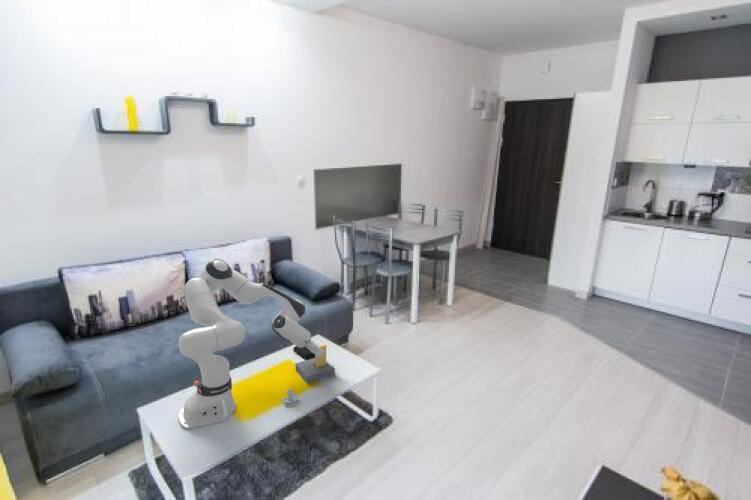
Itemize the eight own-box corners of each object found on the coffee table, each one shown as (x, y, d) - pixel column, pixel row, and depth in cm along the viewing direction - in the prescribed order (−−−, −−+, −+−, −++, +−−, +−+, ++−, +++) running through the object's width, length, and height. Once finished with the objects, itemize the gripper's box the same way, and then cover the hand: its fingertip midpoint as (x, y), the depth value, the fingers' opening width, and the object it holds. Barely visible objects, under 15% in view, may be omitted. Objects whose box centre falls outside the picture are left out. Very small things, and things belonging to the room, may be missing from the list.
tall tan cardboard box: (317, 369, 201) (317, 347, 198) (315, 367, 203) (315, 345, 200) (326, 366, 204) (326, 345, 201) (324, 364, 206) (324, 343, 203)
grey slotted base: (307, 384, 193) (307, 375, 192) (295, 370, 204) (295, 362, 203) (334, 375, 201) (334, 367, 200) (322, 362, 213) (322, 354, 211)
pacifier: (301, 404, 179) (296, 396, 183) (301, 392, 177) (296, 384, 182) (286, 409, 175) (280, 402, 179) (285, 397, 173) (280, 389, 178)
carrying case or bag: (322, 355, 221) (307, 345, 231) (322, 350, 220) (307, 340, 230) (306, 361, 214) (291, 351, 224) (306, 356, 213) (291, 346, 223)
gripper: (315, 341, 186) (333, 355, 193) (297, 324, 202) (315, 338, 210) (306, 352, 184) (325, 365, 192) (289, 334, 201) (307, 347, 209)
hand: (320, 351), depth 201 cm, fingers closed on tall tan cardboard box, 2 cm apart
